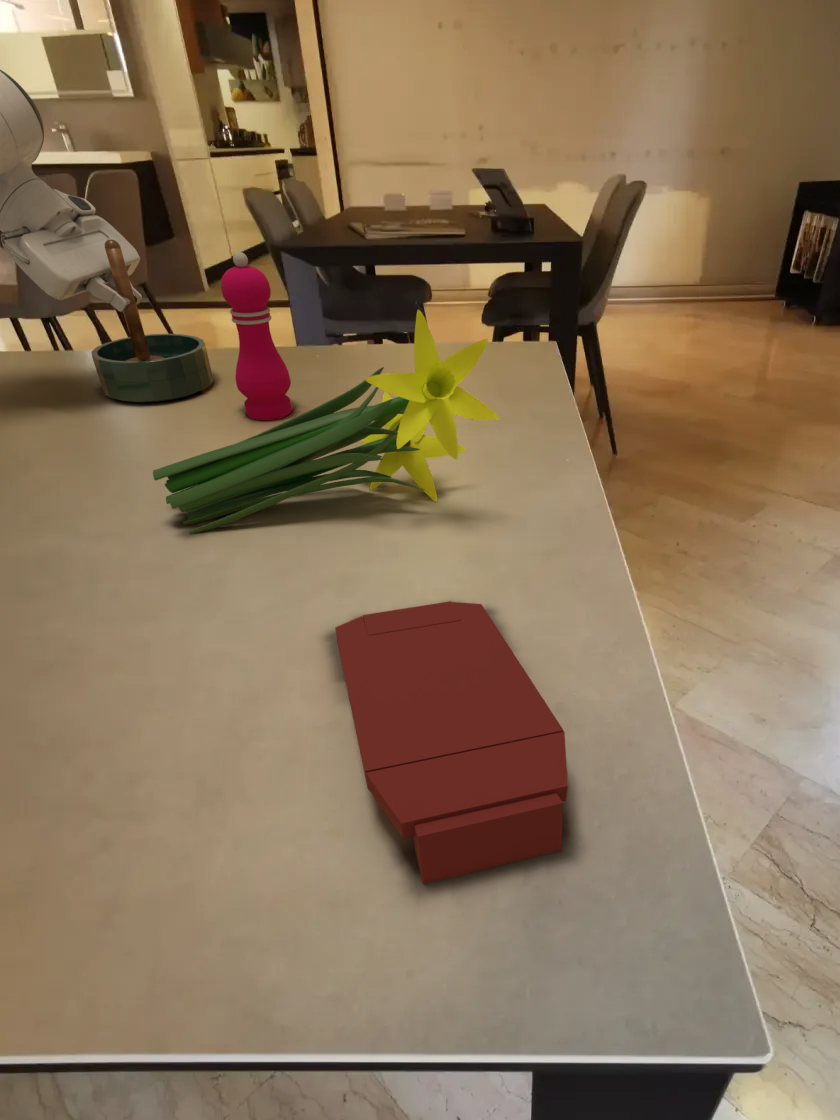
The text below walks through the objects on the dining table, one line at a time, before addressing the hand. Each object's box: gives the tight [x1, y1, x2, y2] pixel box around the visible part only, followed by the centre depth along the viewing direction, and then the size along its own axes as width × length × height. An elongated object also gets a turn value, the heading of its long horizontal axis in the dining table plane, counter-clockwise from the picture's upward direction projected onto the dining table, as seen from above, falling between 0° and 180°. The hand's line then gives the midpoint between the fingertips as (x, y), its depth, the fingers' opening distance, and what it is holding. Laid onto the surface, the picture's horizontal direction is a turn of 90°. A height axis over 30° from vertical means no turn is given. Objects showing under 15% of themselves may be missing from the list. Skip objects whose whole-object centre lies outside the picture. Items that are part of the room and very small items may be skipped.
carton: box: [334, 600, 569, 885], centre depth 49 cm, size 12×5×25 cm
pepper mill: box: [220, 251, 293, 421], centre depth 92 cm, size 7×7×20 cm
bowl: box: [91, 333, 214, 403], centre depth 105 cm, size 16×16×6 cm
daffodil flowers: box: [152, 309, 501, 535], centre depth 71 cm, size 17×15×35 cm
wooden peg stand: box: [105, 239, 164, 361], centre depth 101 cm, size 6×6×18 cm
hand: (132, 304), depth 100 cm, fingers closed on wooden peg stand
